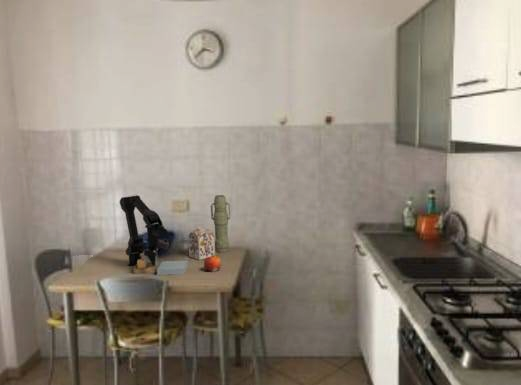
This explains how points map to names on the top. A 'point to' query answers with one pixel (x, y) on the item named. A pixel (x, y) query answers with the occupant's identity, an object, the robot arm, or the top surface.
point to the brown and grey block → (147, 268)
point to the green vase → (220, 223)
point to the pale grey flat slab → (172, 267)
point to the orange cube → (141, 263)
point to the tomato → (212, 263)
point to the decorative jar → (201, 243)
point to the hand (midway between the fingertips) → (154, 264)
